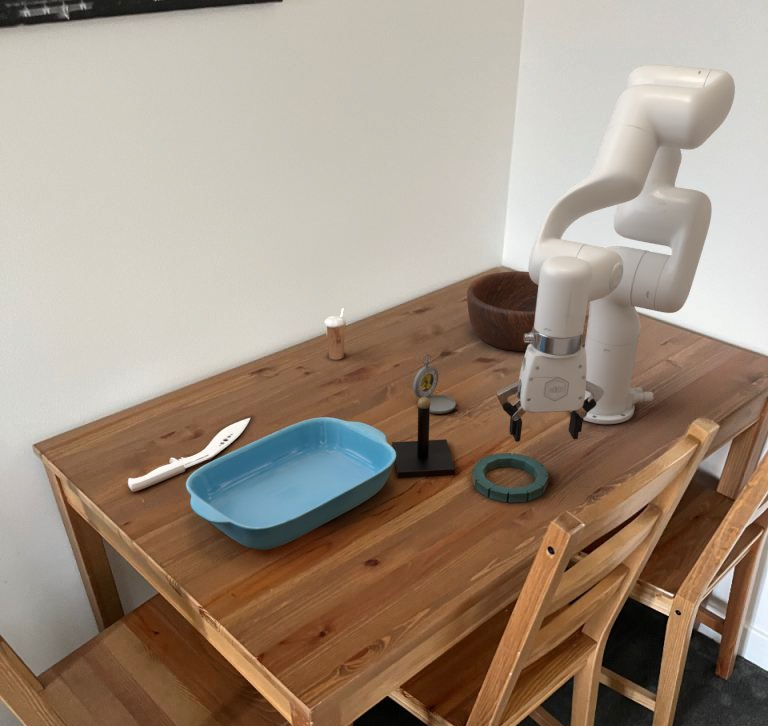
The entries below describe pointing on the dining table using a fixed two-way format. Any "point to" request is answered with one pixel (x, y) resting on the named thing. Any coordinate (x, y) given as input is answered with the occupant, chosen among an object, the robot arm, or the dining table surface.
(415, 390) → the pocket watch
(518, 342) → the wooden bowl
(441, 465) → the stand
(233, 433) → the knife
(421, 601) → the dining table surface
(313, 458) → the casserole dish
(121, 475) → the dining table surface
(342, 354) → the milkshake
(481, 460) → the ring
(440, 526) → the dining table surface
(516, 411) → the robot arm
